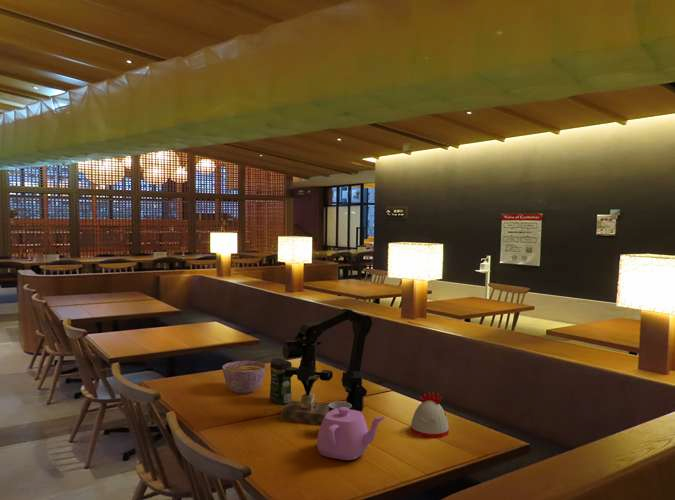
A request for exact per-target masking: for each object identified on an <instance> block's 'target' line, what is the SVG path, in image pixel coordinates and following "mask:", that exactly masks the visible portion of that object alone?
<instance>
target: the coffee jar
mask: <svg viewBox="0 0 675 500" xmlns="http://www.w3.org/2000/svg"><path fill="white" fill-rule="evenodd" d="M288 367H293V366H292V362H291V361H289V360H288V359H285V358H282V357H277V358H272V360H270V365H269V369H270V370H269V371H270V386H269V387H270V388H269V400H270V402H272V403H274V404H276V405H287V404H288V403H289V402H290V401H292V377H284V371H285V370H286V369H287V368H288Z"/></svg>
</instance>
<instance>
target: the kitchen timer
mask: <svg viewBox="0 0 675 500" xmlns="http://www.w3.org/2000/svg"><path fill="white" fill-rule="evenodd" d="M430 393H431V392H430V391H428V392H427V395H426V393H423V397H424V399H423V397H422V396H421V395H420V396H419V398H420V401H421V403H420V404H419V405H418V406H417V408H416V409H415V411H414V414H413V417H412V419H411V424H410V427H411V428H410V431H411V433H413V434H414V435H415V436H419V437H421V438H427V439H440V438H441V439H442V438H444V437H447V436H448V435H449V431H450V427H449V421H448V417H447V413H446V412H445V411H444V409H443V407H442V406H441V404H440V402H441V401H442V398H443V396H440V398H439V393H438V392H437V393H436V396H435V393H434V391H432V393H431V394H430Z"/></svg>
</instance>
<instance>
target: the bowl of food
mask: <svg viewBox="0 0 675 500" xmlns="http://www.w3.org/2000/svg"><path fill="white" fill-rule="evenodd" d="M221 368H222V372H223V376H224V377H223V378H224V381H225V385H226V386H227V388H228V389H229V390H231V391H233V392H235V393H236V394H239V393H241V394H242V395H244V394H247V395H248V394H250V393H253V392H254V391H256V390H258V389H259V388H260V387H261V385H262V384H263V382H264V379H265V374H266V370H267V364H266V363H264V362H260V361H257V360H256V361H254V360H237V361H236V360H235V361H231V362H227V363H225V364H223V365H222V366H221ZM241 394H240V395H241Z"/></svg>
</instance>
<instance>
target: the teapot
mask: <svg viewBox="0 0 675 500" xmlns="http://www.w3.org/2000/svg"><path fill="white" fill-rule="evenodd" d="M385 419H386V416H378V417H375V418H374V419H373V420H372V421H371V425H370V428H368V425H367V422H366V419H365V416H364V414H363V412H362V411H356V410H350V409H349V408H347V407H340V408H337V409H334V410H331V411H330V412H328V413H327V414H326V415H325V417H324V419H323V422H322V424H321V425H320V426H319V429H318V434H317V441H316V448H317V450H318V452H319V454H320V455H321V456H324V457H326V458H330V459H335V460H341V461H342V460H343V461H353V460H356V459H358V458H360V457H361V456H362V455H363V454H364V453H365V451H366V450H367V447H368V446H369V445H370V444H371V443H373V442H374V439H375V437H376V435H377V429H378V426H379V423H380V422H381V421H383V420H385Z"/></svg>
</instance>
